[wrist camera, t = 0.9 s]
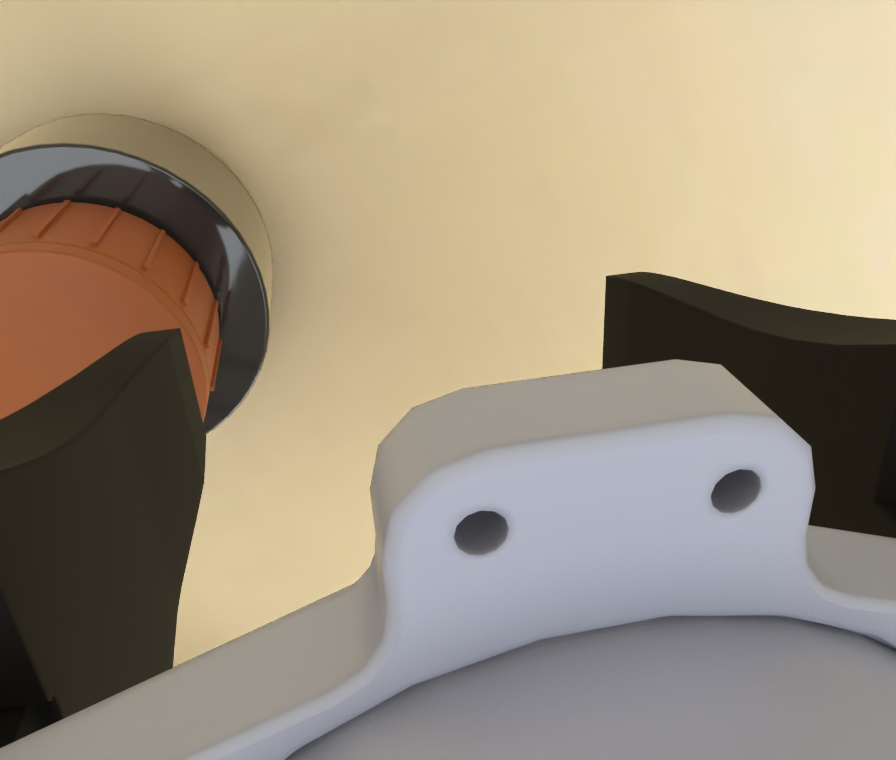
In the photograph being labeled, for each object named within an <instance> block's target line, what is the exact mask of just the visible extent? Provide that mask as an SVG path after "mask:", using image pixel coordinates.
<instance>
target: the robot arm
mask: <svg viewBox="0 0 896 760" xmlns="http://www.w3.org/2000/svg"><path fill="white" fill-rule="evenodd" d="M205 451H206V434H205V429H204V425H203V421H202V417H201V413H200V408H199V404H198V400H197V396H196V392H195V387H194V383H193V379H192V375H191V371H190V366H189V362H188V358H187V354H186V350H185V345H184V341H183V337H182V333H181V329H180V328H175V329H167V330H159V331H151V332H143V333H139V334H137V335H135V336H133V337H131V338H129V339H128V340H126V341H124V342H123V343H121V344H120V345H118V346H117V347H115V348H114V349H112V350H111V351H109V352H108V353H107V354H105V355H104V356H102V357H101V358H99V359H98V360H97V361H95V362H94V363H92V364H91V365H89V366H88V367H86V368H85V369H84V370H82V371H81V372H79V373H78V374H76V375H75V376H73V377H72V378H70V379H69V380H67V381H65V382H64V383H62V384H61V385H59V386H57V387H56V388H54V389H53V390H51V391H49V392H48V393H46V394H45V395H43V396H42V397H40V398H38V399H37V400H35V401H34V402H32V403H30V404H28V405H27V406H25V407H23V408H21V409H19V410H18V411H16V412H14V413H12V414H10V415H8V416H6V417H4V418H2V419H0V760H896V320H890V319H876V318H865V317H855V316H846V315H839V314H833V313H826V312H819V311H812V310H806V309H801V308H795V307H790V306H785V305H781V304H776V303H772V302H767V301H763V300H758V299H754V298H750V297H746V296H742V295H738V294H734V293H731V292H727V291H723V290H720V289H716V288H712V287H709V286H705V285H701V284H698V283H694V282H690V281H686V280H683V279H679V278H675V277H671V276H666V275H662V274H656V273H649V272H635V273H627V274H619V275H611V276H606V293H605V317H604V342H603V367H602V369H601V370H594V371H587V372H579V373H572V374H565V375H558V376H550V377H543V378H536V379H529V380H521V381H514V382H507V383H500V384H493V385H485V386H478V387H471V388H464V389H460V390H457V391H455V392H452V393H450V394H447V395H444V396H442V397H439V398H437V399H434V400H431V401H429V402H426V403H424V404H421V405H418V406H416V407H413V408H412V409H411V410H410V411H409V412H408V413H407V414H406V415H405V416H404V417H403V419H402V420H401V421H400V422H399V423H398V424H397V425H396V426H395V427H394V428H393V430H392V431H391V432H390V433H389V434H388V435H387V436H386V437H385V438H384V439H383V441H382V442H381V443H380V444H379V445H378V449H377V455H376V460H375V465H374V470H373V476H372V481H371V486H370V493H371V501H372V509H373V516H374V524H375V532H376V537H375V554H374V557H373V560H372V563H371V565H370V567H369V569H368V570H367V571H366V572H365V573H364V574H363V575H362V577H361V578H360V579H359V580H358V581H357V582H355V583H354V584H352V585H350V586H348V587H345V588H343V589H341V590H339V591H337V592H335V593H332V594H330V595H328V596H326V597H324V598H322V599H320V600H317V601H315V602H313V603H311V604H309V605H307V606H305V607H302V608H300V609H298V610H296V611H294V612H292V613H290V614H287V615H285V616H283V617H281V618H279V619H277V620H275V621H272V622H270V623H268V624H266V625H264V626H262V627H260V628H257V629H255V630H253V631H251V632H249V633H247V634H244V635H242V636H240V637H238V638H236V639H234V640H232V641H229V642H227V643H225V644H223V645H221V646H219V647H217V648H214V649H212V650H210V651H208V652H206V653H204V654H202V655H199V656H197V657H195V658H193V659H191V660H189V661H187V662H184V663H182V664H180V665H178V666H176V667H174V668H173V657H174V645H175V634H176V622H177V611H178V605H179V599H180V592H181V586H182V582H183V577H184V573H185V568H186V564H187V559H188V555H189V550H190V545H191V541H192V536H193V532H194V527H195V523H196V518H197V513H198V509H199V504H200V499H201V494H202V489H203V484H204V472H205Z"/></svg>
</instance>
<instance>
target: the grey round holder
mask: <svg viewBox="0 0 896 760" xmlns="http://www.w3.org/2000/svg"><path fill="white" fill-rule="evenodd" d="M65 200H70V202H76V203H90V204H96V205H102V206H107V207H111V208H114V209H115V208H116V207H117V208H121V211H124V212H127V213H129V214H132V215H134V216H136V217H139V218H141V219H143V220H145V221H147V222H148V223H150V224H152V225H154V226H155V227H157V228H159V229H160V230H161V229H163V230H164V231H166V234H167V235H168V236H170V237H171V238H172V239H173V240H175V241H176V242H177V243H178V244H179V245H180V246H181V247H182V248H183V249H184V250H185V251H186V252H187V253H188V254H189V255H190V257H191V258H192V259H193V260H194V261H195V262H196V261H197V262H198V263H199V268H200V270H201V271H202V273H203V274H204V276H205V278H206V280H207V282H208V284H209V286H210V288H211V290H212V293H213V296H214V299H215V300H218V303H219V304H218V309H217V311H218V317H219V339H222V346H221V352H220V357H219V363H218V369H217V374H216V380H215V386H214V391H210V393H209V398H208V403H207V409H206V415H205V418H204V422H203V425H204V429H205V434H207V433H209V432H210V431H212V430H213V429H215V428H216V427H217V426H219V425H220V424H221V423H222V422H223V421H224V420H226V419H227V418H228V417H229V416H230V415H231V414H232V413H233V412H234V411H235V410H236V408H237V407H238V406H239V405H240V404H241V403H242V402H243V400H244V399H245V397H246V396H247V394H248V393H249V391H250V390H251V388H252V387H253V385H254V383H255V381H256V379H257V377H258V375H259V373H260V371H261V368H262V365H263V362H264V359H265V355H266V352H267V347H268V340H269V333H270V317H271V296H272V255H271V248H270V242H269V239H268V235H267V231H266V228H265V225H264V223H263V220H262V218H261V216H260V213H259V211H258V209H257V207H256V205H255V203H254V202H253V200H252V198H251V197H250V195H249V193H248V192H247V190H246V189H245V188H244V186H243V185H242V184H241V183H240V181H239V180H238V179H237V177H236V176H235V175H234V174H233V173H232V172H231V171H230V170H229V169H228V168H227V167H226V166H225V165H224V164H223V163H222V162H221V161H220V160H219V159H218V158H216V157H215V156H214V155H213V154H211V153H210V152H209V151H208V150H206V149H205V148H204V147H202V146H201V145H199V144H197V143H196V142H194V141H193V140H191V139H189V138H188V137H186V136H184V135H182V134H180V133H178V132H176V131H173V130H171V129H169V128H167V127H165V126H162V125H158V124H155V123H152V122H149V121H146V120H142V119H137V118H132V117H128V116H121V115H108V114H92V115H78V116H73V117H67V118H62V119H58V120H55V121H52V122H49V123H46V124H43V125H40V126H38V127H36V128H34V129H32V130H30V131H28V132H26V133H24V134H22V135H20V136H19V137H17V138H15V139H14V140H12V141H11V142H9V143H7V144H6V145H4V146H2V147H1V148H0V221H2V220H4V219H6V218H7V217H9V216H10V215H11V214H12V213H13V212H14V211H15V210H16V209H19V208H21V209H22V210H26V209H29V208H32V207H36V206H41V205H46V204H51V203H63V202H64V201H65Z"/></svg>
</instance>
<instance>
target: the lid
mask: <svg viewBox="0 0 896 760" xmlns="http://www.w3.org/2000/svg"><path fill="white" fill-rule="evenodd" d="M218 304H219V303H218V300H215V299H214V296H213V293H212V290H211V288H210V286H209V284H208V282H207V280H206V278H205V276H204V274H203V273H202V271H201V270H200V268H199V263H198V262H197V261H196V262H195V261H194V260H193V259H192V258H191V257H190V255H189V254H188V253H187V252H186V251H185V250H184V249H183V248H182V247H181V246H180V245H179V244H178V243H177V242H176V241H175V240H173V239H172V238H171V237H170V236H168V235H167V234H166V231H164V230H163V229H161V230H160V229H159V228H157V227H155V226H154V225H152V224H150V223H148V222H147V221H145V220H143V219H141V218H139V217H136V216H134V215H132V214H129V213H127V212H124V211H121V208H117V207H116V208H115V209H114V208H111V207H107V206H102V205H96V204H90V203H76V202H70V200H65V201H64V202H63V203H51V204H46V205H41V206H36V207H32V208H29V209H26V210H22V209H21V208H19V209H16V210H15V211H14V212H13V213H12V214H11V215H10V216H9V217H7V218H6V219H4V220H2V221H0V419H2V418H4V417H6V416H8V415H10V414H12V413H14V412H16V411H18V410H19V409H21V408H23V407H25V406H27V405H28V404H30V403H32V402H34V401H35V400H37V399H38V398H40V397H42V396H43V395H45V394H46V393H48V392H49V391H51V390H53V389H54V388H56V387H57V386H59V385H61V384H62V383H64V382H65V381H67V380H69V379H70V378H72V377H73V376H75V375H76V374H78V373H79V372H81V371H82V370H84V369H85V368H86V367H88V366H89V365H91V364H92V363H94V362H95V361H97V360H98V359H99V358H101V357H102V356H104V355H105V354H107V353H108V352H109V351H111V350H112V349H114V348H115V347H117V346H118V345H120V344H121V343H123V342H124V341H126V340H128V339H129V338H131V337H133V336H135V335H137V334H139V333H143V332H151V331H159V330H167V329H175V328H180V329H181V333H182V337H183V341H184V345H185V350H186V354H187V358H188V362H189V366H190V371H191V375H192V379H193V383H194V387H195V392H196V396H197V400H198V404H199V408H200V413H201V417H202V421H203V422H204V418H205V415H206V409H207V403H208V398H209V393H210V391H214V386H215V380H216V374H217V369H218V363H219V357H220V352H221V346H222V339H219V317H218V311H217V309H218Z"/></svg>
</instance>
